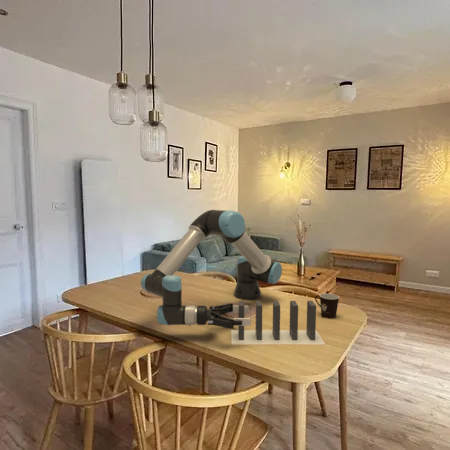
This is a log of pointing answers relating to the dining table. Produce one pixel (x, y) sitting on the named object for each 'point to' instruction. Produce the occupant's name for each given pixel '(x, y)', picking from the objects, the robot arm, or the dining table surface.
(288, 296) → the dining table surface
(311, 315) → the domino
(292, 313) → the domino
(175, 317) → the robot arm
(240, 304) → the domino
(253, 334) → the mat
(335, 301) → the coffee mug
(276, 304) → the domino
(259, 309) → the domino
